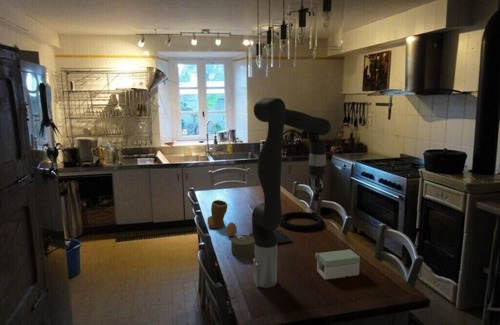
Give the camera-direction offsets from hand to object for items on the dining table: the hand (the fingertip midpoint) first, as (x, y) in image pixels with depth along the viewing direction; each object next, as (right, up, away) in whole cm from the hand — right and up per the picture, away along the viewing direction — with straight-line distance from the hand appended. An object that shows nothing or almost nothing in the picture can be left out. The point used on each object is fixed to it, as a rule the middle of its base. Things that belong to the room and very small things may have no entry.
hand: (315, 200), depth 161 cm
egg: (-40, -23, +34) cm, 58 cm away
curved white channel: (+8, -31, -7) cm, 33 cm away
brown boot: (-50, -20, +51) cm, 74 cm away
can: (-33, -27, +13) cm, 45 cm away
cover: (+8, -25, -8) cm, 27 cm away
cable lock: (+2, -20, +55) cm, 58 cm away
